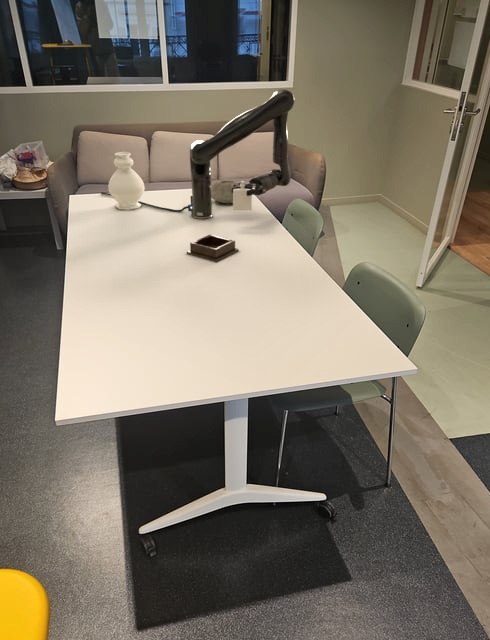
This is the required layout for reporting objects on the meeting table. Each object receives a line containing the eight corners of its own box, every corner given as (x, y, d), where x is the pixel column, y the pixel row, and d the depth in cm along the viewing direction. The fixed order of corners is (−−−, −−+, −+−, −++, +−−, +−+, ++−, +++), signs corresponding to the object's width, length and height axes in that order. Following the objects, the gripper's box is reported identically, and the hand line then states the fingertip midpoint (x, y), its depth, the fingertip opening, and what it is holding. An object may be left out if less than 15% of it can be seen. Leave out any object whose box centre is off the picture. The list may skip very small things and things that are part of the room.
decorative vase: (129, 199, 267) (123, 148, 253) (153, 205, 259) (148, 152, 245) (103, 207, 256) (95, 154, 241) (128, 213, 247) (121, 158, 233)
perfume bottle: (233, 210, 220) (233, 181, 214) (233, 209, 222) (233, 180, 215) (251, 210, 221) (252, 182, 214) (251, 209, 222) (251, 180, 215)
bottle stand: (186, 254, 203) (186, 243, 200) (209, 243, 213) (209, 233, 210) (216, 262, 196) (216, 251, 193) (238, 251, 206) (238, 240, 203)
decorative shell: (216, 207, 257) (215, 187, 251) (205, 198, 271) (204, 179, 265) (248, 204, 263) (248, 184, 257) (236, 195, 276) (236, 176, 270)
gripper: (247, 173, 228) (226, 180, 216) (274, 178, 221) (253, 185, 210) (247, 190, 232) (226, 198, 221) (273, 195, 225) (253, 204, 214)
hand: (239, 192), depth 215 cm, fingers closed on perfume bottle, 7 cm apart
